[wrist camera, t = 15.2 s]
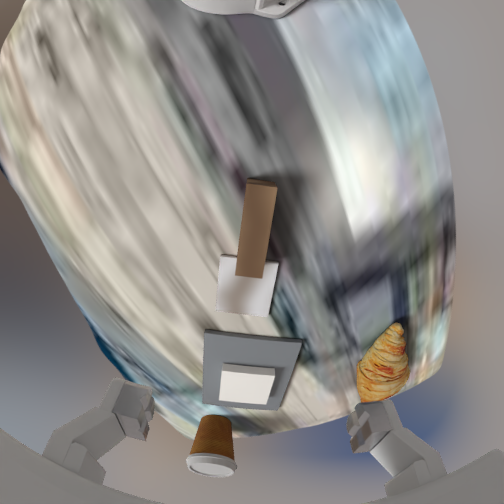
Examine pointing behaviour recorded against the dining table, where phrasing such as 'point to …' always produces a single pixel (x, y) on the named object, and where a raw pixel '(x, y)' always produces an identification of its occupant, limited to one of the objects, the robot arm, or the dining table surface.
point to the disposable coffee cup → (213, 448)
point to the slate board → (247, 363)
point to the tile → (246, 383)
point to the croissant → (383, 366)
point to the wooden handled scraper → (250, 257)
